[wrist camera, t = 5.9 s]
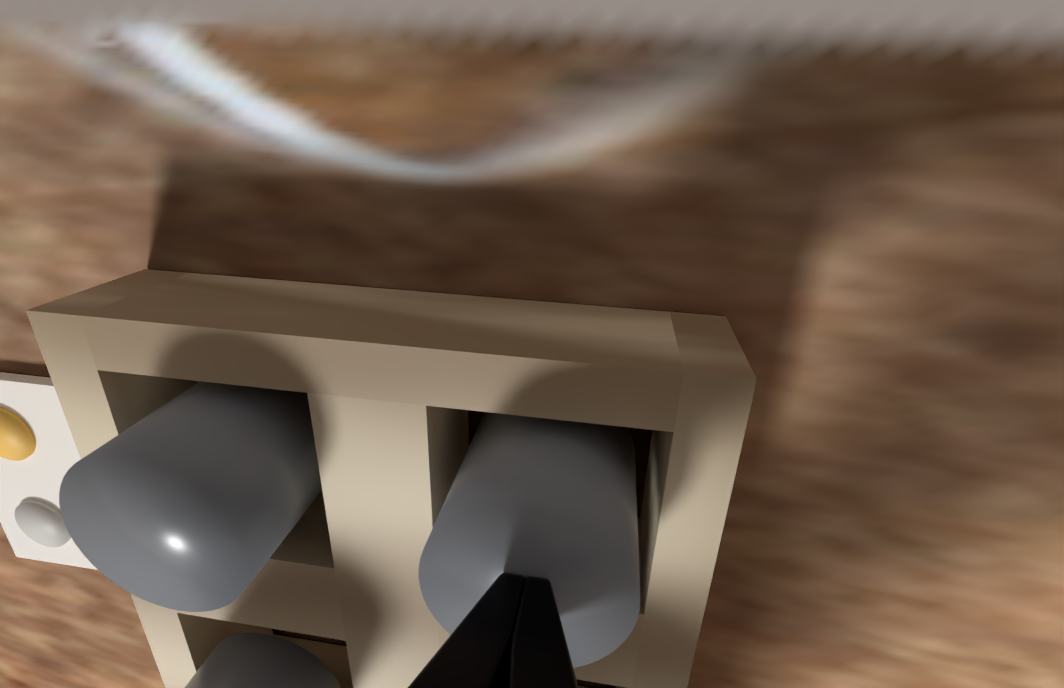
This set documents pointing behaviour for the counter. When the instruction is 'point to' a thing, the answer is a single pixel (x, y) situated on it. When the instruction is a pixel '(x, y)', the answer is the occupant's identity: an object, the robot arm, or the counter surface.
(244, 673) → the button
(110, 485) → the button
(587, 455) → the button
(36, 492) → the pattern tile
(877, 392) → the counter surface
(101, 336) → the button board
